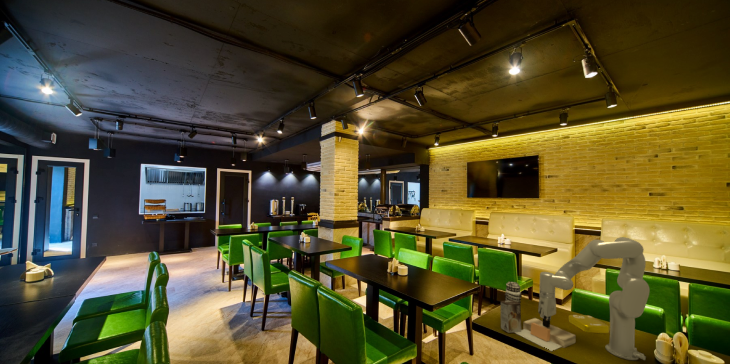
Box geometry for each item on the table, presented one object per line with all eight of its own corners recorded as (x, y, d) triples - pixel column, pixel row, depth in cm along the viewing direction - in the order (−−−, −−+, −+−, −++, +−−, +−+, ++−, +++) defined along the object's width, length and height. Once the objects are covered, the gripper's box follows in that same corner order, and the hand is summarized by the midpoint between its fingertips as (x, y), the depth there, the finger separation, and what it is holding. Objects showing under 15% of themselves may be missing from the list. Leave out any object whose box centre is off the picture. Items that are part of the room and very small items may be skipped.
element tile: (586, 333, 164) (586, 325, 164) (567, 321, 179) (567, 313, 179) (610, 334, 165) (611, 325, 165) (589, 321, 180) (589, 314, 180)
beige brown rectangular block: (575, 342, 153) (575, 335, 153) (563, 347, 147) (564, 340, 147) (534, 324, 172) (535, 317, 172) (523, 328, 166) (523, 321, 166)
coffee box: (512, 326, 168) (512, 299, 169) (521, 331, 162) (521, 303, 163) (500, 328, 165) (500, 300, 166) (508, 333, 159) (508, 304, 160)
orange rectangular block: (550, 329, 153) (547, 330, 152) (549, 341, 152) (546, 341, 151) (534, 322, 161) (531, 322, 160) (532, 333, 160) (530, 333, 159)
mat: (561, 346, 148) (561, 346, 148) (551, 351, 143) (551, 350, 143) (524, 329, 165) (524, 328, 165) (514, 332, 160) (514, 332, 160)
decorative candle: (523, 327, 168) (524, 285, 168) (508, 326, 168) (509, 285, 168) (515, 320, 177) (517, 280, 177) (501, 319, 177) (502, 280, 177)
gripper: (546, 298, 152) (545, 332, 152) (561, 294, 159) (560, 326, 159) (532, 293, 159) (531, 326, 158) (547, 290, 166) (546, 321, 165)
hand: (546, 326), depth 159 cm, fingers closed
